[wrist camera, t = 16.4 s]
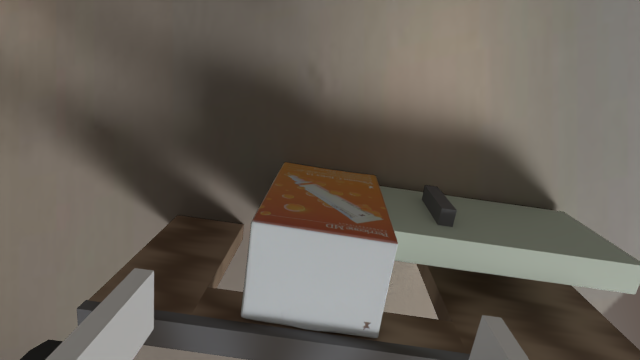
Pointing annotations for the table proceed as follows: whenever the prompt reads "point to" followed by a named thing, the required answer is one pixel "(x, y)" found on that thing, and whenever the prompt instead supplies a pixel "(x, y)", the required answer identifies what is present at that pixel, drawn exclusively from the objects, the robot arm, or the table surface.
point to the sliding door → (505, 241)
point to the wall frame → (351, 350)
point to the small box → (320, 252)
